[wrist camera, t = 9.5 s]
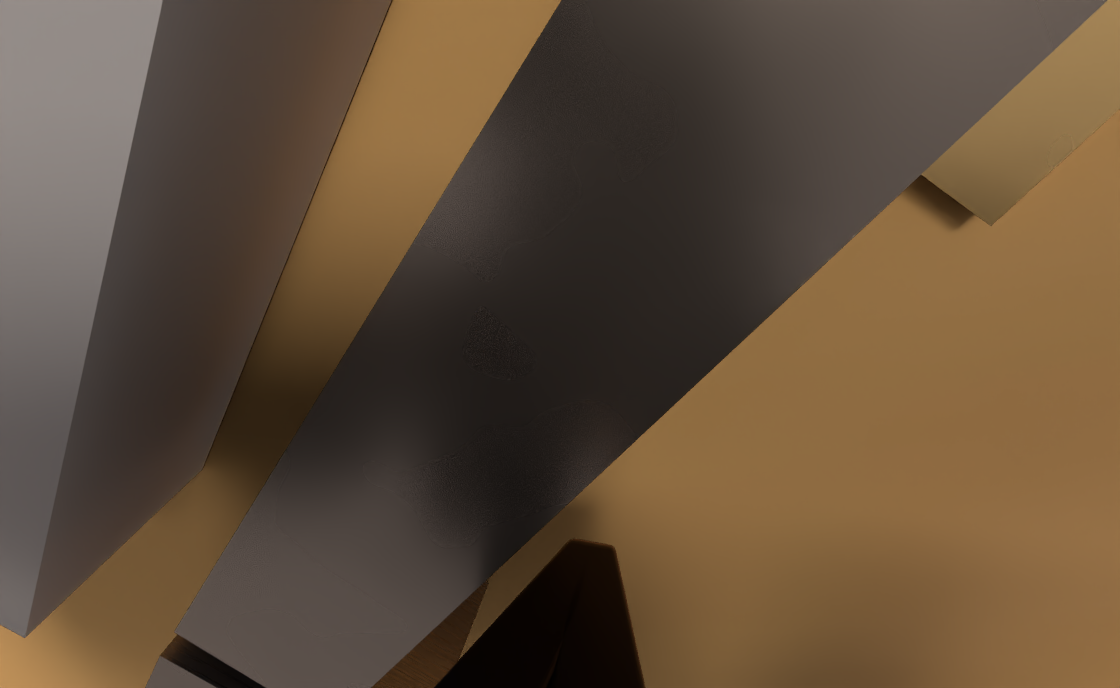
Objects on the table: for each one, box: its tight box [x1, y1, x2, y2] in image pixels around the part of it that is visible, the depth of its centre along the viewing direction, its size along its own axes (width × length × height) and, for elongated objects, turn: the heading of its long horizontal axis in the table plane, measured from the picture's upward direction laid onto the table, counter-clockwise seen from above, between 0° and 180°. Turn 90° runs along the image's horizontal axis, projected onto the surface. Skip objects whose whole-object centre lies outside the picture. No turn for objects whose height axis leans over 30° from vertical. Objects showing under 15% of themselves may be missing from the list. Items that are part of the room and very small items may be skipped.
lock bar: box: [174, 0, 1108, 688], centre depth 6 cm, size 14×4×3 cm, turn 145°
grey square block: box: [145, 581, 488, 688], centre depth 10 cm, size 2×4×4 cm, turn 58°
